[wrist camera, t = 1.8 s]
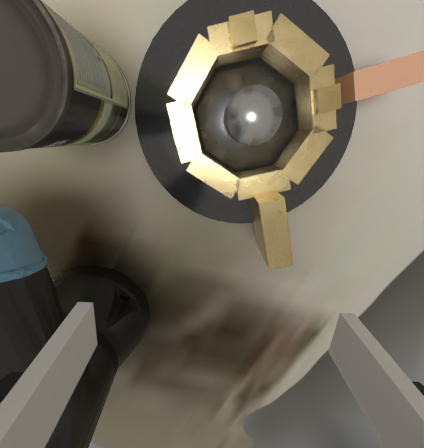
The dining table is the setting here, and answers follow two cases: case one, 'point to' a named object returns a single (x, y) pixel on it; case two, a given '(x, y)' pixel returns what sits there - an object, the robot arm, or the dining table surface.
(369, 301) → the dining table surface
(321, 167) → the plate
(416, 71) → the block
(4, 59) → the coffee can
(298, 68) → the gold octagonal ring
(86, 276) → the robot arm
